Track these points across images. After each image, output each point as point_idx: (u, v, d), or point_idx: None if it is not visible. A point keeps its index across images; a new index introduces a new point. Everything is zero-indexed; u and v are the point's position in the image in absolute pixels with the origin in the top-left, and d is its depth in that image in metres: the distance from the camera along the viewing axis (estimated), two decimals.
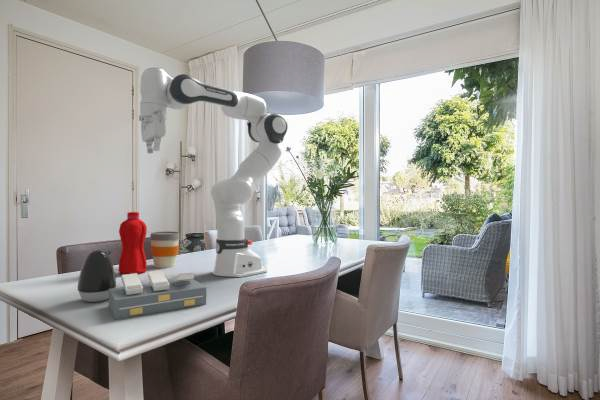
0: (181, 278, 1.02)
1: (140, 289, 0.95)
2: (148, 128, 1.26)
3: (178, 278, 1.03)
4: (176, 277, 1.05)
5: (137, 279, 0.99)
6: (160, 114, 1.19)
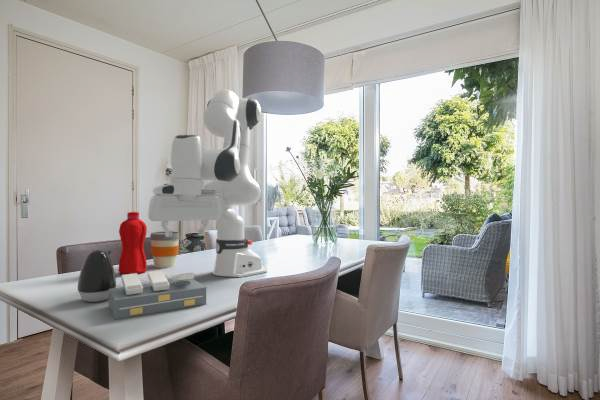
0: (181, 278, 1.02)
1: (140, 289, 0.95)
2: (189, 208, 1.02)
3: (178, 278, 1.03)
4: (176, 277, 1.05)
5: (137, 279, 0.99)
6: None
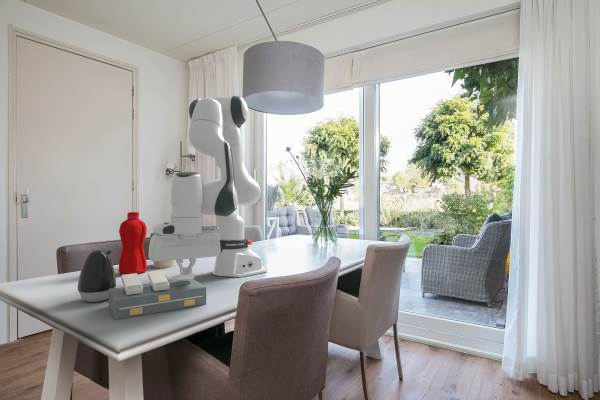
0: (181, 278, 1.02)
1: (140, 289, 0.95)
2: (190, 246, 1.02)
3: (178, 278, 1.03)
4: (176, 277, 1.05)
5: (137, 279, 0.99)
6: None
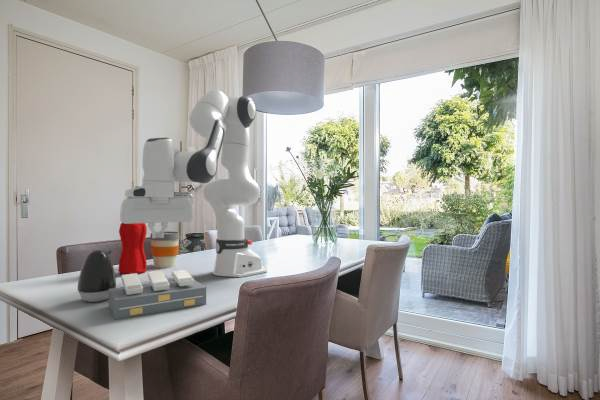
0: (181, 284, 1.02)
1: (140, 289, 0.95)
2: (161, 210, 1.03)
3: (178, 282, 1.03)
4: (176, 278, 1.04)
5: (137, 279, 0.99)
6: None
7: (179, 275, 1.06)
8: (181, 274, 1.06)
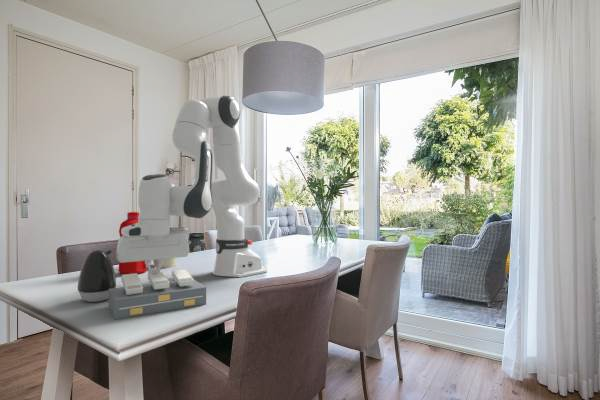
0: (181, 285, 1.02)
1: (140, 289, 0.95)
2: (157, 247, 1.04)
3: (178, 282, 1.03)
4: (176, 278, 1.04)
5: (137, 279, 0.99)
6: None
7: (179, 275, 1.06)
8: (181, 274, 1.06)
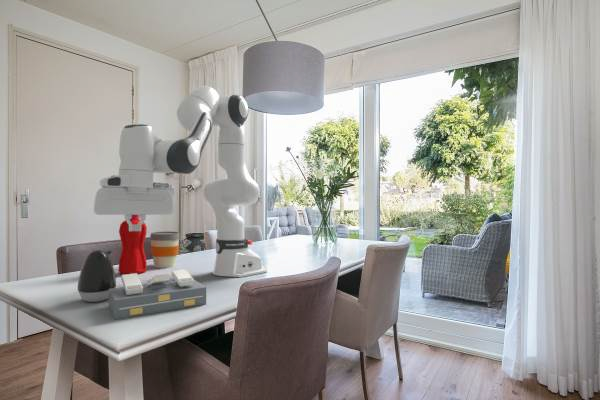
0: (181, 285, 1.02)
1: (140, 289, 0.95)
2: (139, 201, 0.97)
3: (178, 282, 1.03)
4: (176, 278, 1.04)
5: (137, 279, 0.99)
6: None
7: (179, 275, 1.06)
8: (181, 274, 1.06)
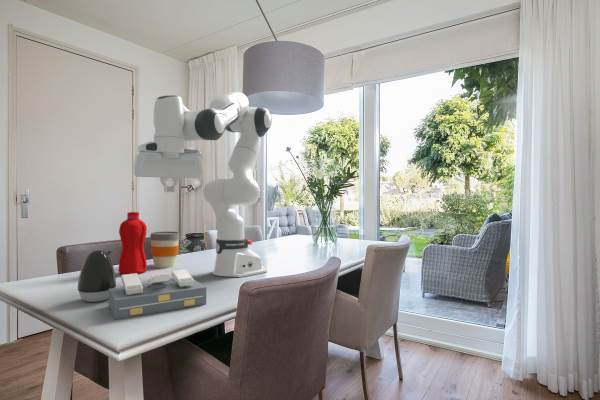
0: (181, 285, 1.02)
1: (140, 289, 0.95)
2: (172, 165, 1.08)
3: (178, 282, 1.03)
4: (176, 278, 1.04)
5: (137, 279, 0.99)
6: None
7: (179, 275, 1.06)
8: (181, 274, 1.06)
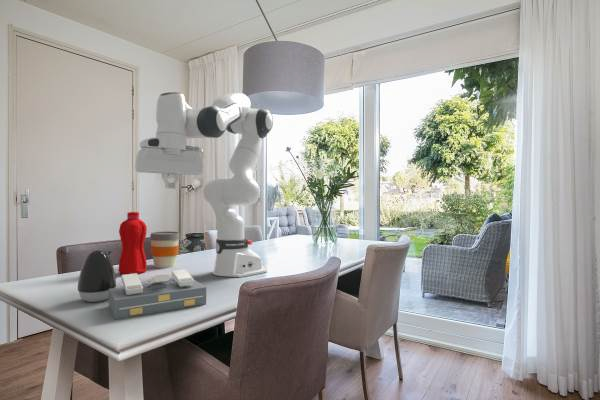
0: (181, 285, 1.02)
1: (140, 289, 0.95)
2: (174, 161, 1.09)
3: (178, 282, 1.03)
4: (176, 278, 1.04)
5: (137, 279, 0.99)
6: None
7: (179, 275, 1.06)
8: (181, 274, 1.06)
